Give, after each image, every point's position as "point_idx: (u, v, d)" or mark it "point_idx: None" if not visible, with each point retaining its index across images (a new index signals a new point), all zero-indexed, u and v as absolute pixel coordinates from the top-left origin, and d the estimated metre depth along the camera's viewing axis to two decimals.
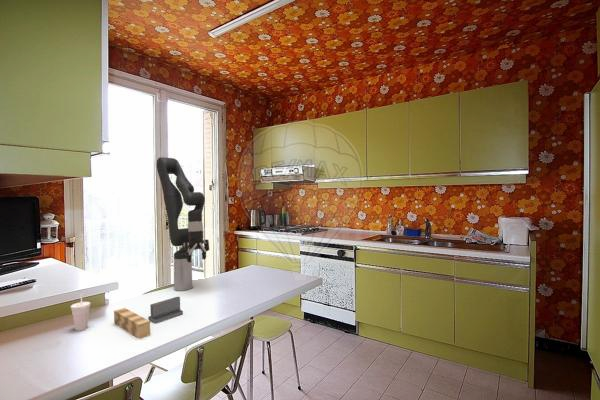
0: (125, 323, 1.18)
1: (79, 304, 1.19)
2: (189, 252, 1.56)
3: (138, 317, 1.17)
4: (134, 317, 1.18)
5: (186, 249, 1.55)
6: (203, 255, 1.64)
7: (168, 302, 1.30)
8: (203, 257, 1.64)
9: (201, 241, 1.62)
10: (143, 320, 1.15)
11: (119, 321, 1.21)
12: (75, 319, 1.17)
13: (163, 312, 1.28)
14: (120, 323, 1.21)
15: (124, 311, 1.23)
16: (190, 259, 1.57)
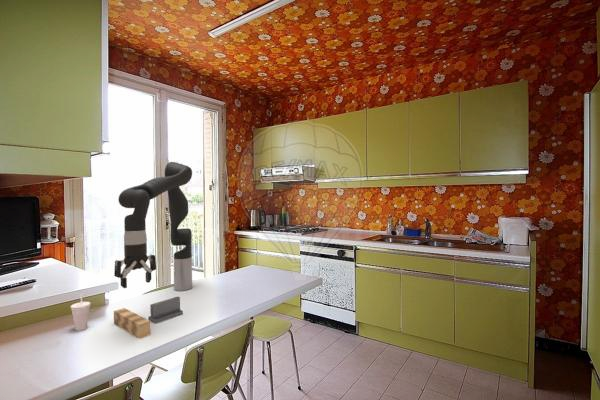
0: (125, 323, 1.18)
1: (79, 304, 1.19)
2: (124, 274, 1.11)
3: (138, 317, 1.17)
4: (134, 317, 1.18)
5: (119, 270, 1.10)
6: (147, 277, 1.19)
7: (168, 302, 1.30)
8: (147, 279, 1.19)
9: (144, 258, 1.17)
10: (143, 320, 1.15)
11: (119, 321, 1.21)
12: (75, 319, 1.17)
13: (163, 312, 1.28)
14: (120, 323, 1.21)
15: (124, 311, 1.23)
16: (125, 284, 1.12)
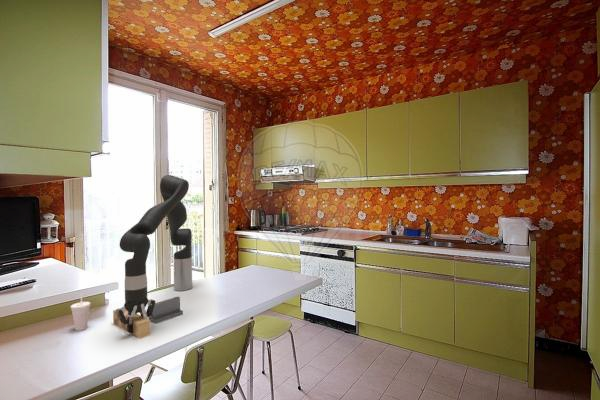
0: None
1: (79, 304, 1.19)
2: (129, 321, 1.13)
3: (138, 316, 1.17)
4: (134, 316, 1.18)
5: (123, 318, 1.11)
6: None
7: (168, 302, 1.30)
8: None
9: (145, 300, 1.17)
10: (143, 319, 1.15)
11: (118, 320, 1.21)
12: (75, 319, 1.17)
13: (163, 312, 1.28)
14: (119, 322, 1.21)
15: None
16: (131, 329, 1.14)
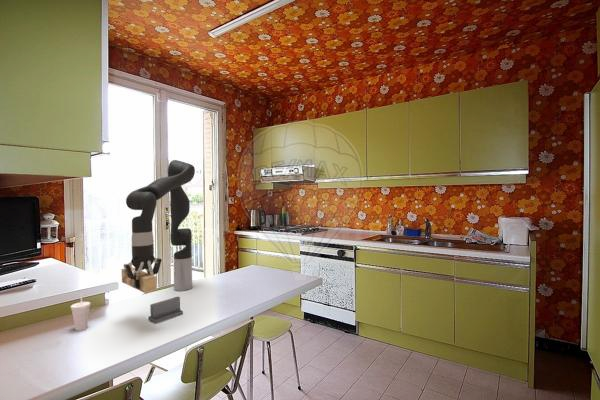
0: (132, 280, 1.21)
1: (79, 304, 1.19)
2: (136, 276, 1.15)
3: (145, 273, 1.20)
4: (141, 273, 1.20)
5: (130, 273, 1.14)
6: None
7: (168, 302, 1.30)
8: None
9: (151, 258, 1.20)
10: (149, 275, 1.17)
11: (126, 278, 1.24)
12: (75, 319, 1.17)
13: (163, 312, 1.28)
14: (127, 280, 1.24)
15: (131, 269, 1.26)
16: (138, 285, 1.16)
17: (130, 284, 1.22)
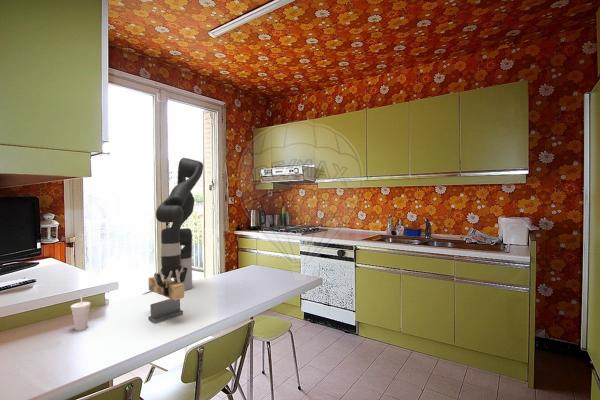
0: (160, 288, 1.29)
1: (79, 304, 1.19)
2: (165, 284, 1.24)
3: (172, 282, 1.28)
4: None
5: (160, 281, 1.22)
6: None
7: (168, 302, 1.30)
8: None
9: (178, 267, 1.28)
10: (178, 283, 1.25)
11: (154, 286, 1.32)
12: (75, 319, 1.17)
13: (163, 312, 1.28)
14: (155, 288, 1.32)
15: None
16: (167, 292, 1.24)
17: (158, 292, 1.30)
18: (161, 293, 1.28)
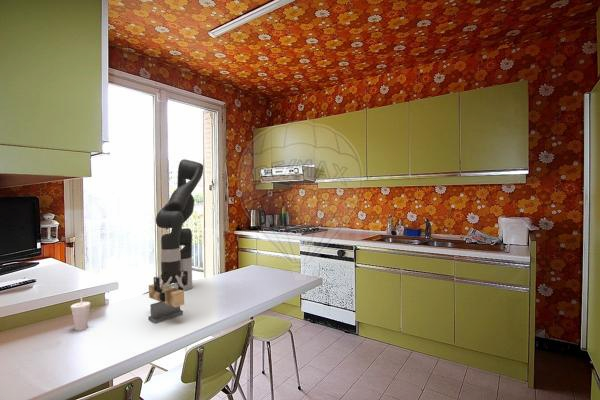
0: None
1: (79, 304, 1.19)
2: (162, 289, 1.23)
3: (172, 288, 1.28)
4: (168, 288, 1.29)
5: (158, 286, 1.21)
6: None
7: None
8: None
9: (178, 273, 1.28)
10: (177, 290, 1.25)
11: (154, 293, 1.32)
12: (75, 319, 1.17)
13: (163, 312, 1.28)
14: (155, 295, 1.32)
15: None
16: (164, 298, 1.23)
17: (158, 299, 1.30)
18: None
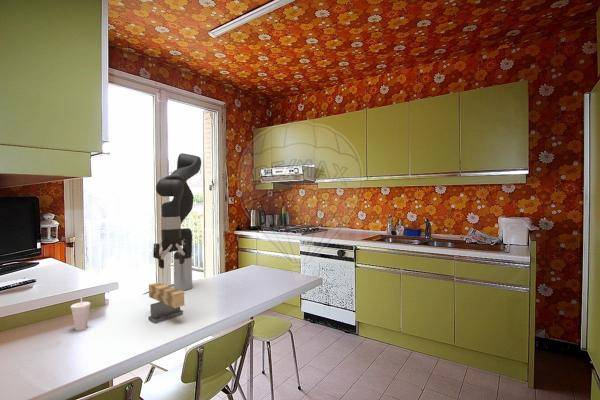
0: (160, 295, 1.29)
1: (79, 304, 1.19)
2: (161, 255, 1.23)
3: (172, 289, 1.28)
4: (169, 289, 1.28)
5: (157, 252, 1.22)
6: (180, 259, 1.31)
7: None
8: (180, 261, 1.31)
9: (178, 241, 1.29)
10: (178, 291, 1.25)
11: (154, 293, 1.32)
12: (75, 319, 1.17)
13: (163, 312, 1.28)
14: (155, 295, 1.32)
15: (159, 285, 1.34)
16: (163, 264, 1.24)
17: (158, 299, 1.30)
18: (161, 300, 1.28)
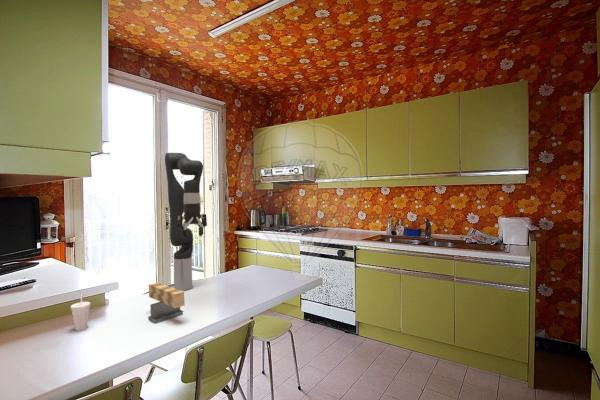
0: (160, 295, 1.29)
1: (79, 304, 1.19)
2: (184, 226, 1.40)
3: (172, 289, 1.28)
4: (169, 289, 1.28)
5: (181, 223, 1.39)
6: (200, 231, 1.47)
7: None
8: (200, 233, 1.48)
9: (198, 215, 1.46)
10: (178, 291, 1.25)
11: (154, 293, 1.32)
12: (75, 319, 1.17)
13: (163, 312, 1.28)
14: (155, 295, 1.32)
15: (159, 285, 1.34)
16: (185, 234, 1.40)
17: (158, 299, 1.30)
18: (161, 300, 1.28)
